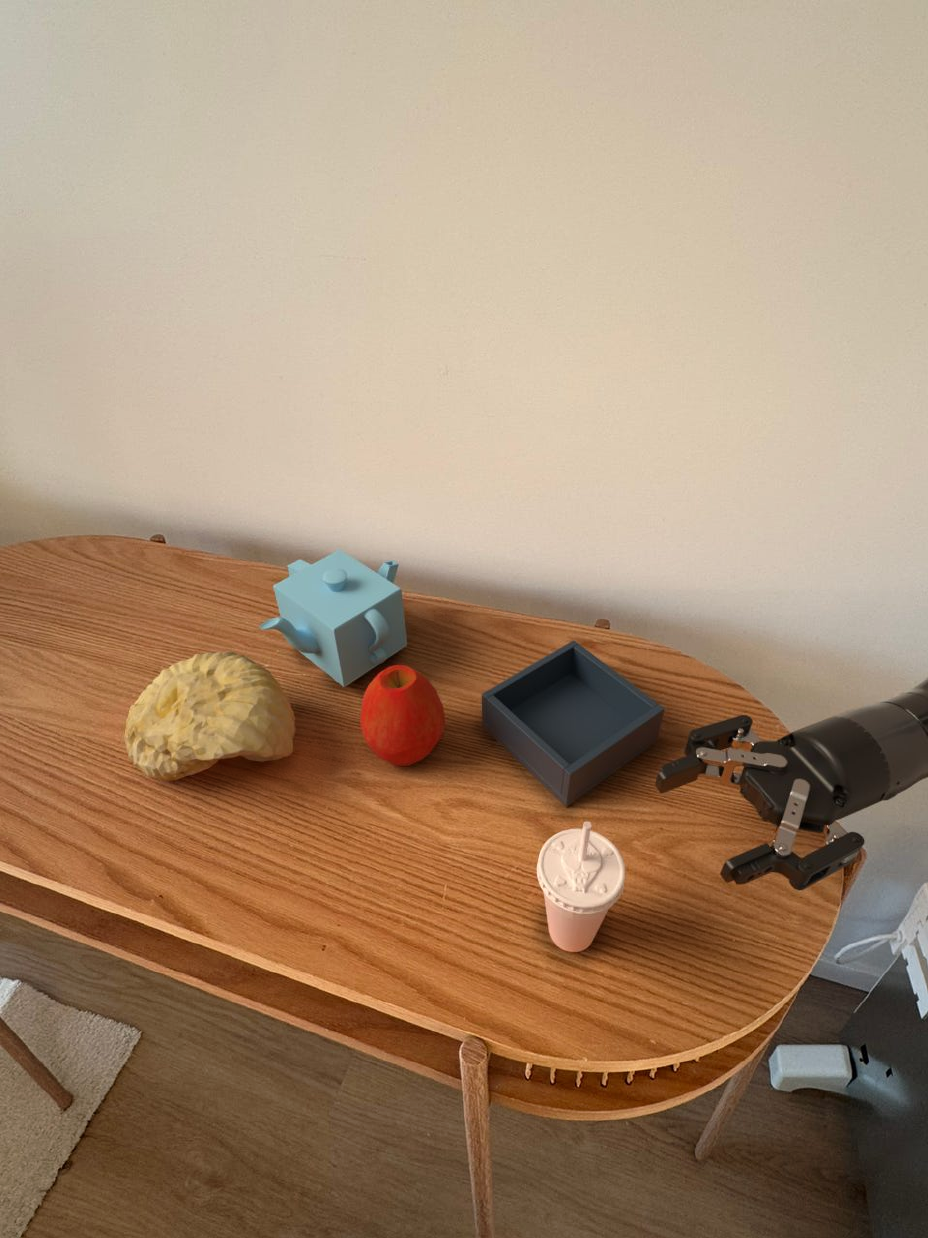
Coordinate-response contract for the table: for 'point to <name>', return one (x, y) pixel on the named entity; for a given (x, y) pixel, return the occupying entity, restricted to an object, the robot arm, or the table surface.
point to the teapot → (341, 614)
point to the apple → (401, 716)
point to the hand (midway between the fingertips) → (690, 826)
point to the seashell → (208, 717)
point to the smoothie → (579, 884)
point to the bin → (571, 720)
